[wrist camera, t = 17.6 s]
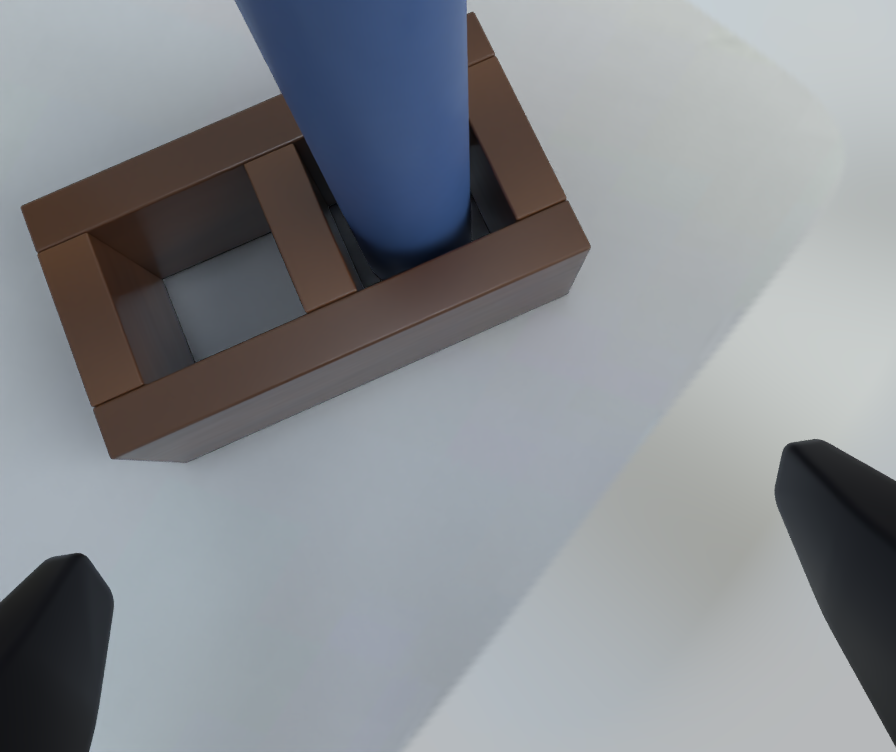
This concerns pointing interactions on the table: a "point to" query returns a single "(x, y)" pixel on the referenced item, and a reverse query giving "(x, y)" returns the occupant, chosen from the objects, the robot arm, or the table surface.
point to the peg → (379, 114)
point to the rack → (308, 263)
